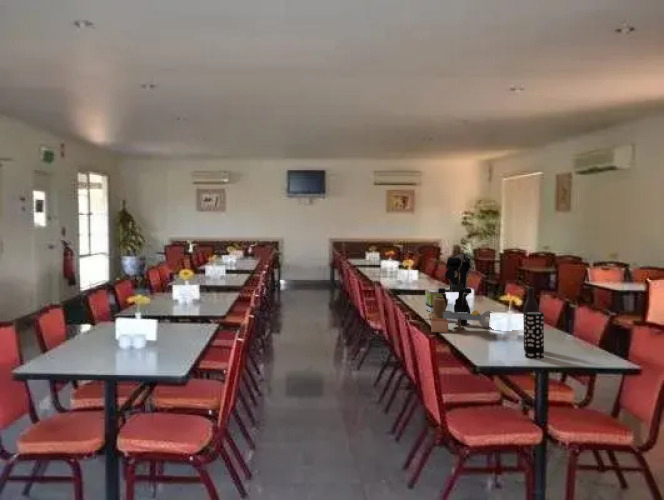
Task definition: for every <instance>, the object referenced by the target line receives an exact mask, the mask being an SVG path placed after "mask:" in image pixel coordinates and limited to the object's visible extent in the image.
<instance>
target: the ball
mask: <svg viewBox="0 0 664 500" xmlns="http://www.w3.org/2000/svg"><path fill="white" fill-rule="evenodd" d="M479 313H480V312H479V311H478V310H477V309H475V310H473V311H472V313H471V314H472V315H473V316H479Z"/></svg>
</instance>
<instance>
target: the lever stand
mask: <svg viewBox="0 0 664 500" xmlns="http://www.w3.org/2000/svg"><path fill="white" fill-rule="evenodd" d="M457 323H458V325H457V326H453V330H454V331H453V332H454V333H455V334H458V333H459V334H464V333H466V330H465V326H462V325H461V318H459V319H457Z"/></svg>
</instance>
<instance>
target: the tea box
mask: <svg viewBox="0 0 664 500" xmlns="http://www.w3.org/2000/svg"><path fill="white" fill-rule="evenodd" d="M424 293H425V294H424V295H425V296H424V297H425V300H424V301H425V310H426V311H427V310H428V312H429V311H430V312H429V313H431V312H433V298H434V297H435V296H441V297H443V296H442V295H440V293H438V288H434V289H433V288H431V289H430V288H429V289H425V291H424Z"/></svg>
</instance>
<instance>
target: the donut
mask: <svg viewBox="0 0 664 500" xmlns="http://www.w3.org/2000/svg"><path fill="white" fill-rule="evenodd" d="M490 313H493V312H492V311H490V310H483V312H481V313H480V314H481V321H480V320H478V322H479V324H480V325H481V327H483V328H484V329H486V328H487V329H489V328H488V327H489V321H486V318H487V317H488V318H489V319H490Z"/></svg>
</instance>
